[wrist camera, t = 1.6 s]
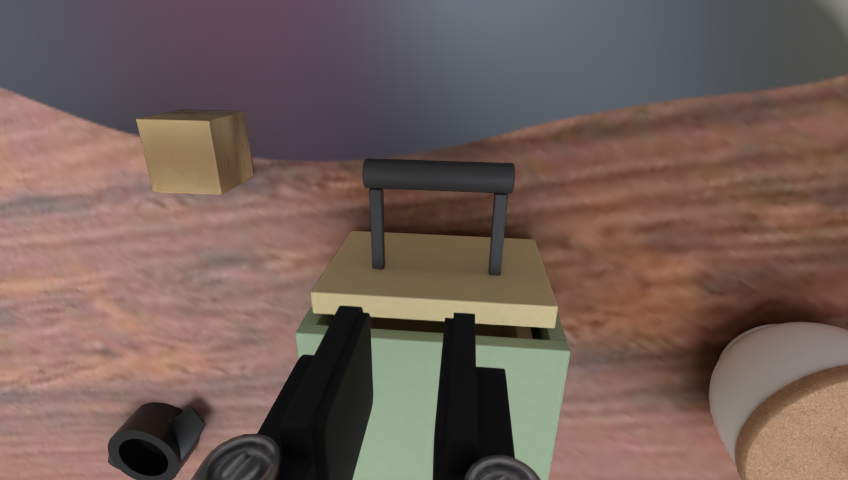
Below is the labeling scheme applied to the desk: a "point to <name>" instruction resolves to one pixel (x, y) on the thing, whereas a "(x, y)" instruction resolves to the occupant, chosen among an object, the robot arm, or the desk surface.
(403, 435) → the box
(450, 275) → the drawer
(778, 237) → the desk surface
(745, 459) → the trinket box
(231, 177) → the block
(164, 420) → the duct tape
